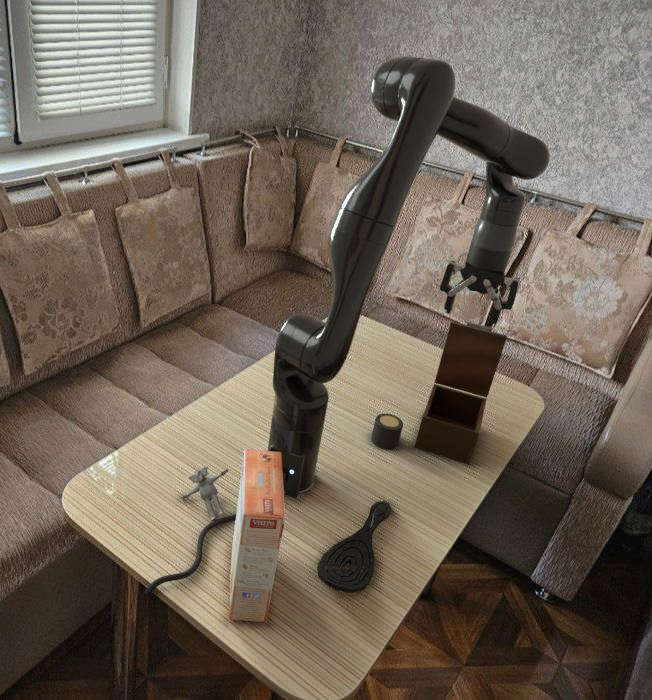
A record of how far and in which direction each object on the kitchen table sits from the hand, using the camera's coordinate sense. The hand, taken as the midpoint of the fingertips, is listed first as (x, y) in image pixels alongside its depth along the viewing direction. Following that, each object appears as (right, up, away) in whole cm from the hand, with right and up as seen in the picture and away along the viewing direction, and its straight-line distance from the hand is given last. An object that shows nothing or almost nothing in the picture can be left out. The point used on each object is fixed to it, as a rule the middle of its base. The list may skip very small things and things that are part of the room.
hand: (469, 318), depth 136 cm
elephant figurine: (-52, -34, -18) cm, 64 cm away
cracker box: (-45, -43, -33) cm, 70 cm away
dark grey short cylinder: (-17, -25, +2) cm, 30 cm away
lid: (+1, -9, +3) cm, 9 cm away
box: (-3, -25, +5) cm, 26 cm away
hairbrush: (-27, -40, -24) cm, 54 cm away
